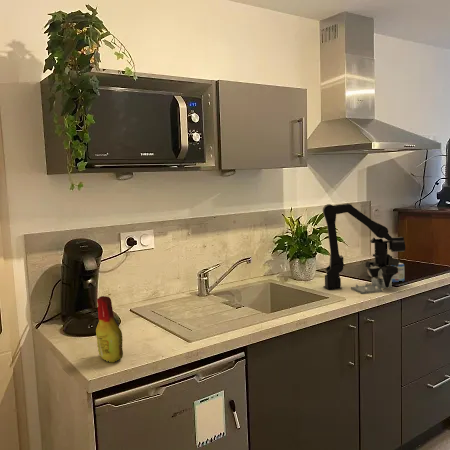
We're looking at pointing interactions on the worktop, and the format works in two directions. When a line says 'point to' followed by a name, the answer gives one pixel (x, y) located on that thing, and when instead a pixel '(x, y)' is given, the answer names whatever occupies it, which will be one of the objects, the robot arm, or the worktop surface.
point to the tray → (366, 289)
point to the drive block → (380, 282)
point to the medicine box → (399, 273)
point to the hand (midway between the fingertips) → (381, 285)
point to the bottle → (108, 332)
